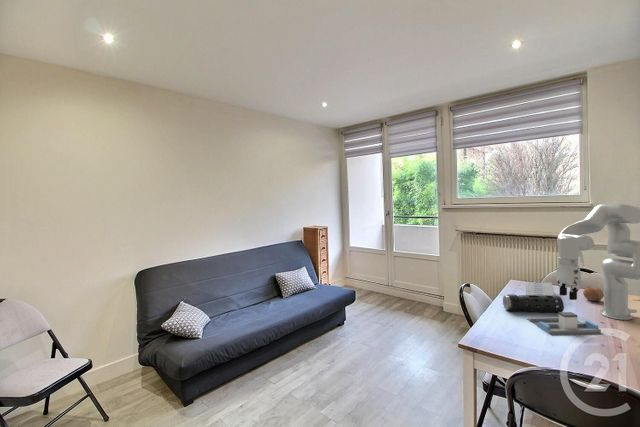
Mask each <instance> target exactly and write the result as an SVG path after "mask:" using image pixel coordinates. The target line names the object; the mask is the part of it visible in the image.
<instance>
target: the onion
mask: <svg viewBox="0 0 640 427" xmlns="http://www.w3.org/2000/svg"><path fill="white" fill-rule="evenodd" d="M582 294H583V296H584V298H585V299H586V300H587V301H590V302H593V301H594V302H595V303H598V302H600V301H601V300H603V299H604V291H602V289H600V288H598V287H594V286H592V285H588V286H587V287H586V288H585V289H584V290H583V293H582Z"/></svg>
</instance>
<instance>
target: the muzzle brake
mask: <svg viewBox="0 0 640 427" xmlns="http://www.w3.org/2000/svg"><path fill="white" fill-rule="evenodd" d="M502 305H503V308H504V309H505V311H509V312H539V313H540V312H543V313H544V312H545V313H548V312H549V313H559V312H564V309H565V304H564V301H563V299H562V297H561V296H560V295H555V296H536V295H526V294H520V295H517V294H506V295H503V297H502Z"/></svg>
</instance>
